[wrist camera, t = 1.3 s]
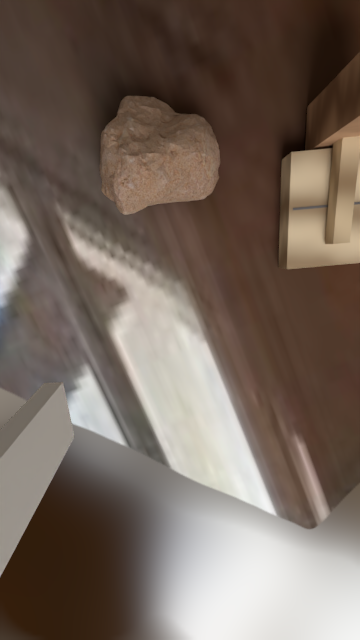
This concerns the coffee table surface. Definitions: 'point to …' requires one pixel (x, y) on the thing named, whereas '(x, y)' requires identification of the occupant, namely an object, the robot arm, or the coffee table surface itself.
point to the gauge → (338, 145)
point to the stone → (156, 155)
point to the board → (312, 213)
